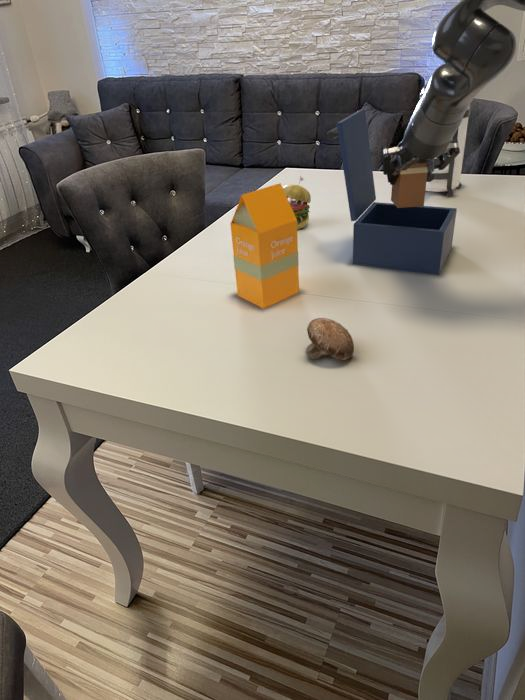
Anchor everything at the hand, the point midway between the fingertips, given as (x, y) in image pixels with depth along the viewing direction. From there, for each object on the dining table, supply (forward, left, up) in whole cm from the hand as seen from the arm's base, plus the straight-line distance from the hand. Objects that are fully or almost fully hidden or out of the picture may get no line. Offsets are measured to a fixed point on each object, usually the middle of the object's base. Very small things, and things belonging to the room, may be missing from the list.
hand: (405, 179), depth 103 cm
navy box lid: (+7, -6, +3) cm, 9 cm away
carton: (+1, +2, -4) cm, 5 cm away
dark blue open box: (+1, +2, -16) cm, 16 cm away
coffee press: (-34, -28, -16) cm, 47 cm away
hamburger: (+10, -27, -16) cm, 33 cm away
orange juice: (+32, +2, -16) cm, 35 cm away
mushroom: (+33, +25, -16) cm, 44 cm away
